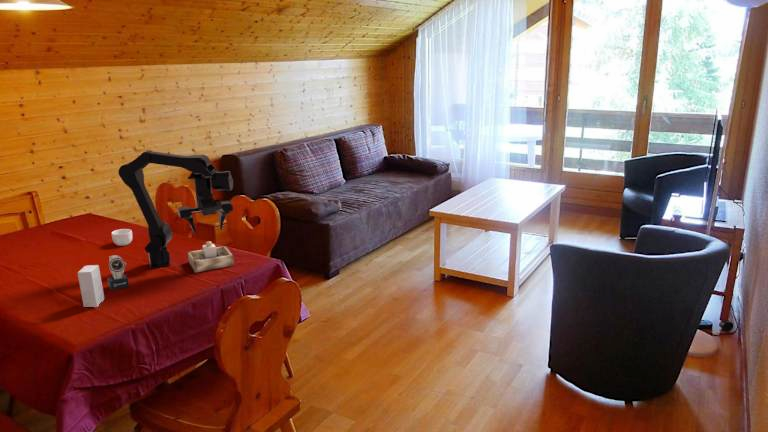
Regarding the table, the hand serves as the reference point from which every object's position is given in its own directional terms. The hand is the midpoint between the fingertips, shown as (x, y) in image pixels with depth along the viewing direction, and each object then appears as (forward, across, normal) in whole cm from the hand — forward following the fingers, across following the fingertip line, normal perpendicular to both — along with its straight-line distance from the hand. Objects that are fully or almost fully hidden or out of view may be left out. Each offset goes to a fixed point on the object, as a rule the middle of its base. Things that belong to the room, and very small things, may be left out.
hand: (208, 231), depth 207 cm
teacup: (+13, -27, +43) cm, 52 cm away
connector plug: (+12, 0, 0) cm, 12 cm away
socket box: (+13, 0, 0) cm, 13 cm away
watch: (+13, -32, -6) cm, 35 cm away
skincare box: (+13, -40, -17) cm, 45 cm away
